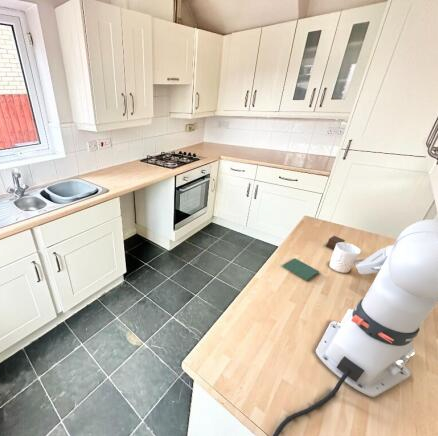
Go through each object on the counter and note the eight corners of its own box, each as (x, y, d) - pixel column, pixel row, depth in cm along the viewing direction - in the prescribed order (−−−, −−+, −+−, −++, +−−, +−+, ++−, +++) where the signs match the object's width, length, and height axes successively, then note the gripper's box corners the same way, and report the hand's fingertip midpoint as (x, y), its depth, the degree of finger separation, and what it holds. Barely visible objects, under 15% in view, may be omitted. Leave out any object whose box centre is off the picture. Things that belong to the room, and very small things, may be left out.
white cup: (348, 264, 102) (358, 245, 97) (352, 276, 95) (363, 256, 91) (326, 259, 105) (334, 240, 100) (328, 270, 99) (337, 250, 94)
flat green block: (307, 281, 94) (307, 278, 93) (282, 266, 101) (283, 264, 101) (318, 273, 97) (319, 271, 97) (294, 260, 105) (294, 258, 104)
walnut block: (336, 251, 110) (340, 243, 108) (325, 246, 113) (329, 238, 111) (341, 248, 112) (345, 240, 110) (330, 243, 115) (334, 235, 113)
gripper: (392, 276, 77) (346, 280, 90) (417, 256, 86) (372, 262, 98) (381, 258, 79) (337, 264, 91) (407, 239, 87) (364, 248, 100)
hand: (356, 263), depth 95 cm, fingers closed, pressing on white cup
